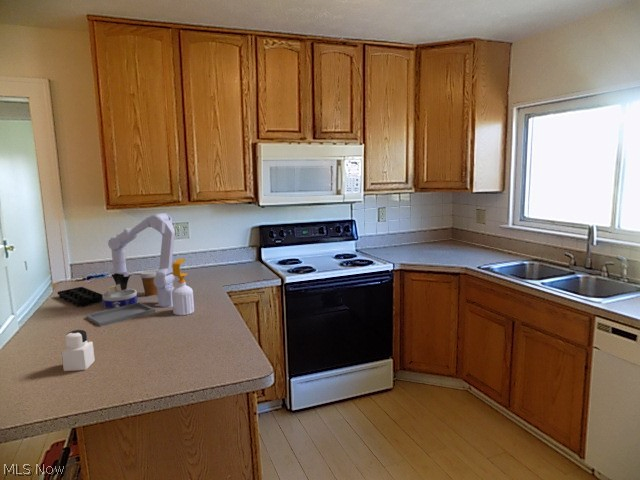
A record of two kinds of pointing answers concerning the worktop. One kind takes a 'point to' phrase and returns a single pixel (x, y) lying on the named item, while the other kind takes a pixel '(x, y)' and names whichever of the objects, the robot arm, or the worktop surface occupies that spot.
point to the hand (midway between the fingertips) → (121, 288)
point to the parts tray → (119, 314)
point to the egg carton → (81, 296)
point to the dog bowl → (120, 298)
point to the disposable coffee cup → (149, 282)
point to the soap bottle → (181, 293)
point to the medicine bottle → (77, 351)
